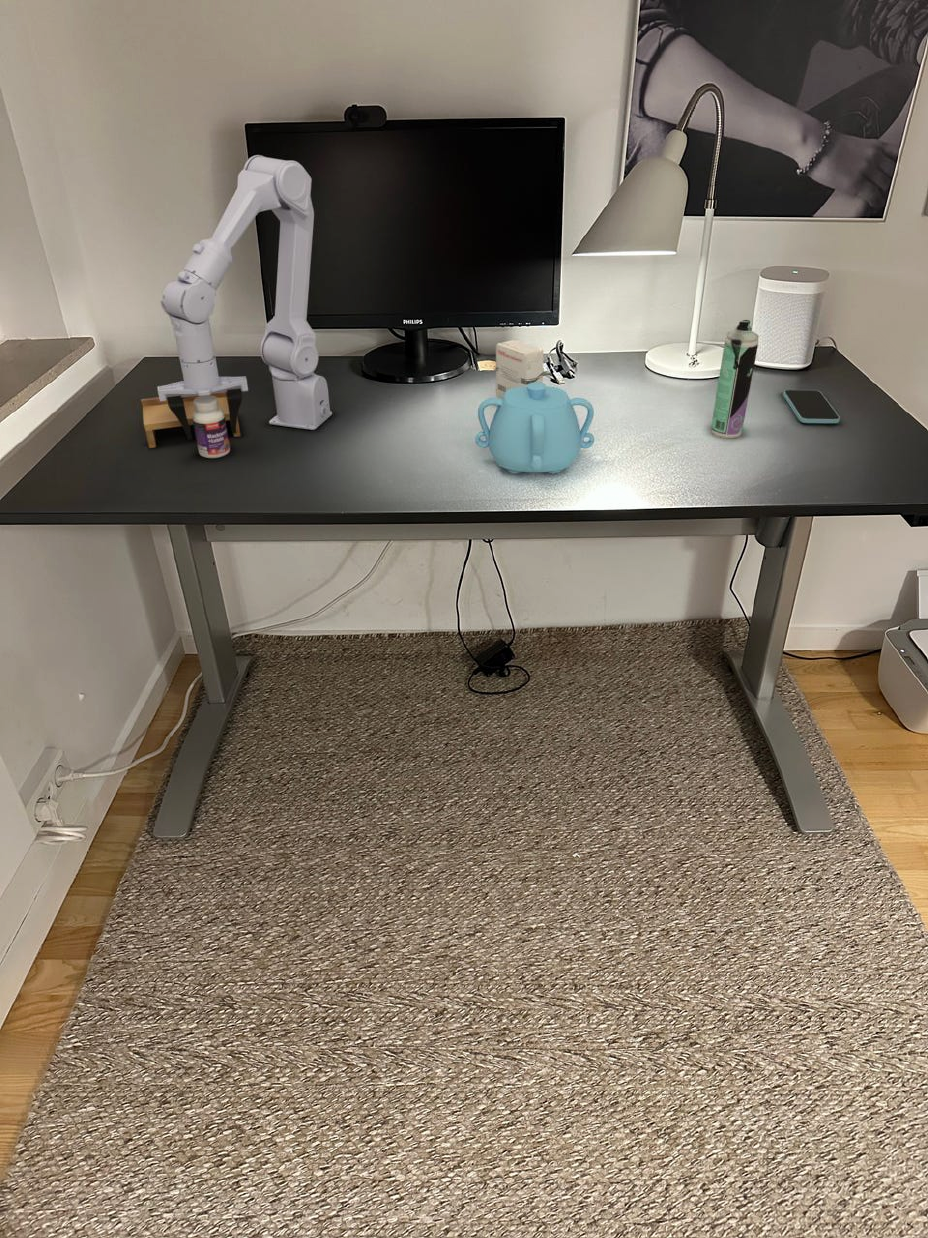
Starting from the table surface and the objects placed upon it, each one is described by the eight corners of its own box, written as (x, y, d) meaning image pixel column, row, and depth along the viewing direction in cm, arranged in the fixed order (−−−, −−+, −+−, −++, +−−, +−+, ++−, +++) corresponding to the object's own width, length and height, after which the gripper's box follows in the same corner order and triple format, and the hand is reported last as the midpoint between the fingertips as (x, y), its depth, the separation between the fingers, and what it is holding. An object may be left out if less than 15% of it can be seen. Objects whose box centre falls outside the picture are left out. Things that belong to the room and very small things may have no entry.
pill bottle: (213, 461, 156) (203, 408, 150) (192, 453, 158) (182, 400, 153) (237, 450, 159) (228, 398, 154) (217, 443, 162) (207, 390, 156)
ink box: (543, 410, 172) (546, 348, 166) (524, 416, 170) (525, 355, 163) (513, 396, 178) (514, 337, 171) (493, 403, 175) (494, 342, 168)
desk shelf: (235, 417, 171) (230, 388, 168) (240, 436, 164) (235, 406, 161) (147, 428, 167) (141, 398, 164) (149, 448, 160) (142, 417, 157)
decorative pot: (539, 433, 164) (542, 360, 156) (601, 464, 153) (607, 387, 145) (467, 458, 156) (466, 381, 148) (527, 492, 145) (530, 412, 138)
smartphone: (819, 390, 177) (841, 419, 164) (818, 395, 177) (840, 425, 165) (782, 389, 177) (801, 418, 165) (781, 394, 178) (800, 424, 165)
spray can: (742, 439, 161) (763, 326, 149) (710, 437, 162) (728, 325, 150) (741, 426, 165) (761, 316, 154) (710, 424, 166) (727, 314, 154)
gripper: (152, 370, 144) (169, 449, 152) (244, 360, 147) (256, 437, 155) (151, 356, 150) (167, 432, 157) (240, 346, 153) (251, 421, 161)
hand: (211, 434), depth 157 cm, fingers open, 7 cm apart
